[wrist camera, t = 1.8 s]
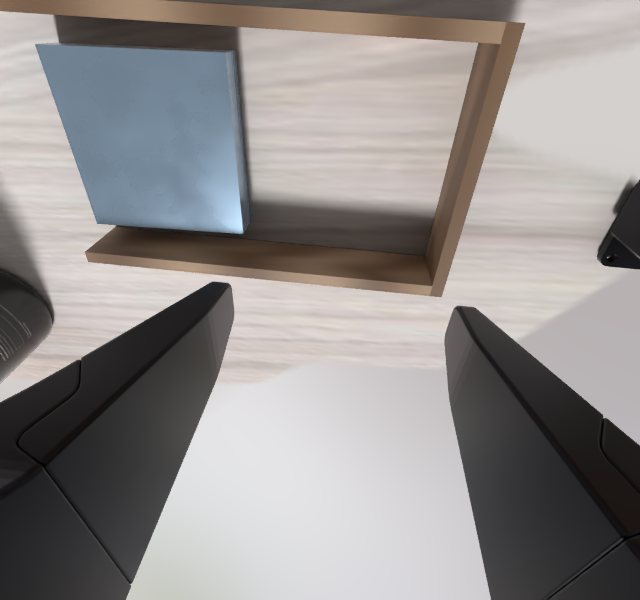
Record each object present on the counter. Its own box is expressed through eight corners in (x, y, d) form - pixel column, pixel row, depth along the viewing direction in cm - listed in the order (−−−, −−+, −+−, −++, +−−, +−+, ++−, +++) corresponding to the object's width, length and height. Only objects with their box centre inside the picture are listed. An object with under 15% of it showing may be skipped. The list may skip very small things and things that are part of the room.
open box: (499, 22, 15) (525, 22, 12) (433, 266, 21) (441, 297, 19) (45, -6, 16) (-14, -11, 13) (118, 236, 22) (88, 262, 20)
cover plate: (238, 49, 17) (225, 52, 15) (252, 218, 21) (243, 234, 20) (65, 42, 17) (34, 44, 15) (116, 208, 22) (97, 223, 20)
